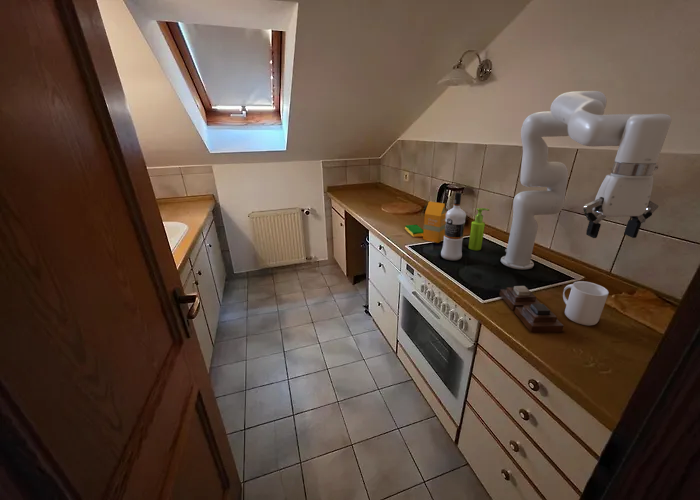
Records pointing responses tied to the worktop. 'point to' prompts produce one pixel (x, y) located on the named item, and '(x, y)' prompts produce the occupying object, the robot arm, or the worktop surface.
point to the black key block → (538, 320)
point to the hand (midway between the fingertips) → (610, 236)
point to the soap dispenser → (477, 231)
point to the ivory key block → (517, 298)
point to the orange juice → (434, 222)
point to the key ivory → (521, 290)
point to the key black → (540, 309)
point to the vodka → (454, 231)
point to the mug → (585, 302)
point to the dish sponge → (414, 230)
